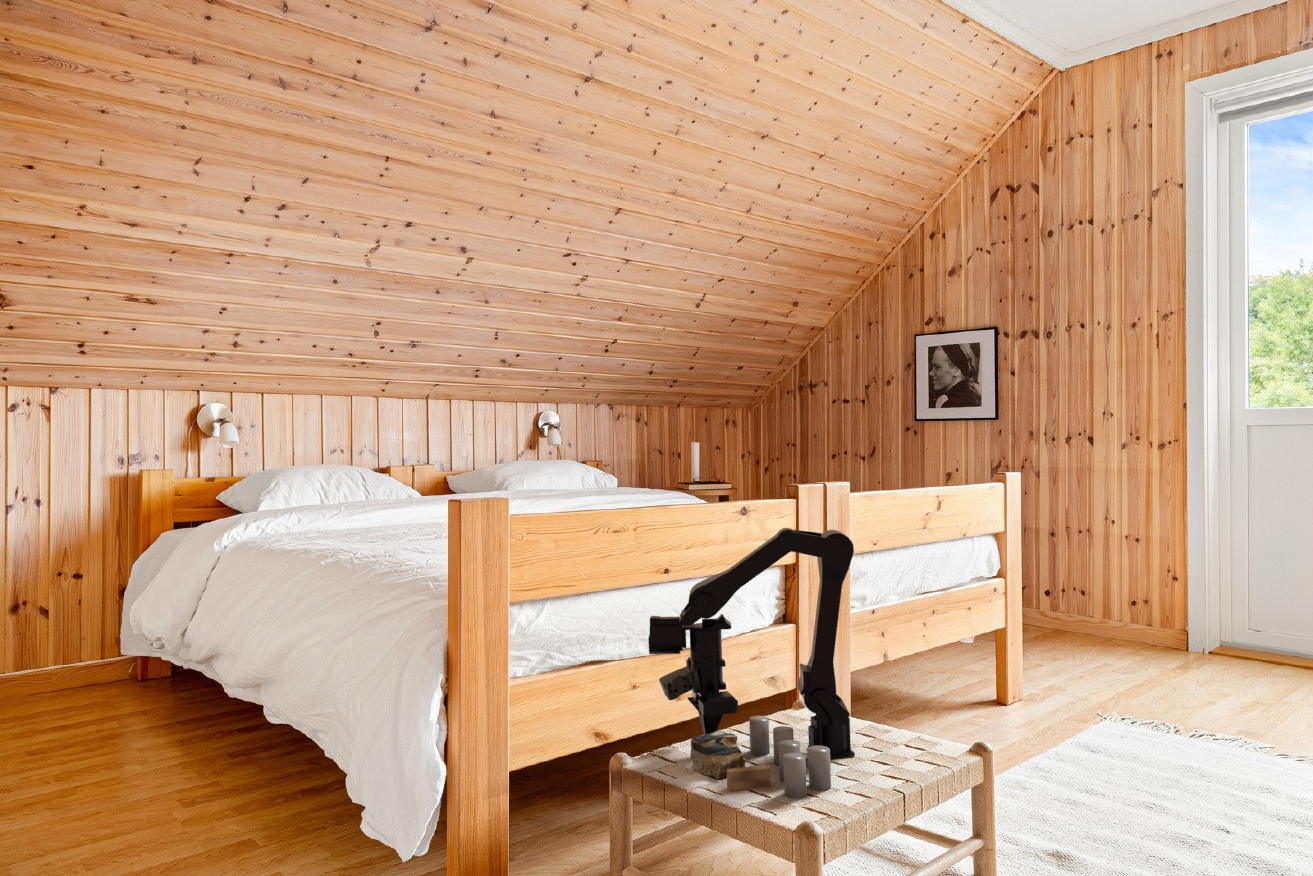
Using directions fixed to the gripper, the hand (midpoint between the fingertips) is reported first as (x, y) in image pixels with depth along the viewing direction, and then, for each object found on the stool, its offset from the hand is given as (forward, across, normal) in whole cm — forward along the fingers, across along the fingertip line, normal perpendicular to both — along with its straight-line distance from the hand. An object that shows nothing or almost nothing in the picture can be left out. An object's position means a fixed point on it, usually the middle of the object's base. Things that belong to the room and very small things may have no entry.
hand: (708, 740), depth 161 cm
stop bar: (+2, +17, +2) cm, 17 cm away
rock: (+3, +8, 0) cm, 8 cm away
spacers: (+2, +12, +11) cm, 16 cm away
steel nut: (+3, +10, +16) cm, 19 cm away
